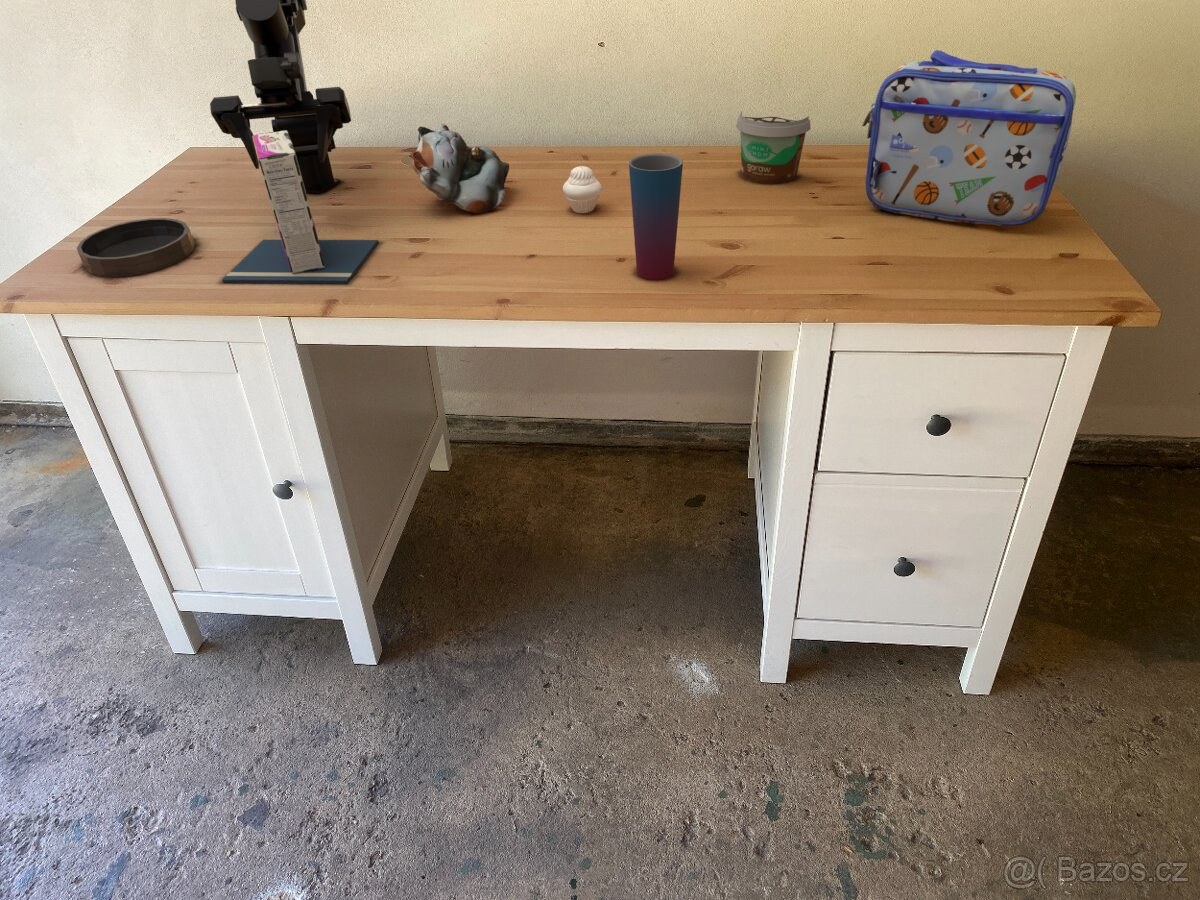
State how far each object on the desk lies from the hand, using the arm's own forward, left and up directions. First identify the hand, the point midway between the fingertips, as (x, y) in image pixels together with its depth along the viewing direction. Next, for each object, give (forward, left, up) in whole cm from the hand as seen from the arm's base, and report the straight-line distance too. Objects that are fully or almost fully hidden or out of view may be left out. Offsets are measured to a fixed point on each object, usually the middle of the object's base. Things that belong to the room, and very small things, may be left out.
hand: (289, 164), depth 121 cm
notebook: (-5, +8, -11) cm, 15 cm away
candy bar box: (-5, +7, -11) cm, 14 cm away
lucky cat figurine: (-17, -20, -11) cm, 29 cm away
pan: (+21, +13, -11) cm, 27 cm away
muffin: (-37, -22, -11) cm, 44 cm away
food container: (-62, -43, -11) cm, 76 cm away
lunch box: (-91, -35, -11) cm, 98 cm away
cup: (-55, -3, -11) cm, 56 cm away
